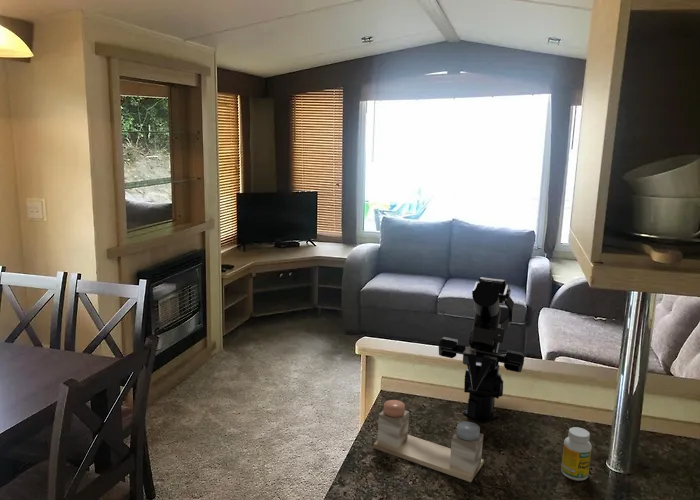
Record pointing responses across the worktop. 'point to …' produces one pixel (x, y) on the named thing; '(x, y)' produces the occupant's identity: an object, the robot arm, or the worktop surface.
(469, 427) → the slate key
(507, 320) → the robot arm
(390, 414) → the terracotta key
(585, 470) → the supplement bottle
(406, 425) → the stand
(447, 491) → the worktop surface
